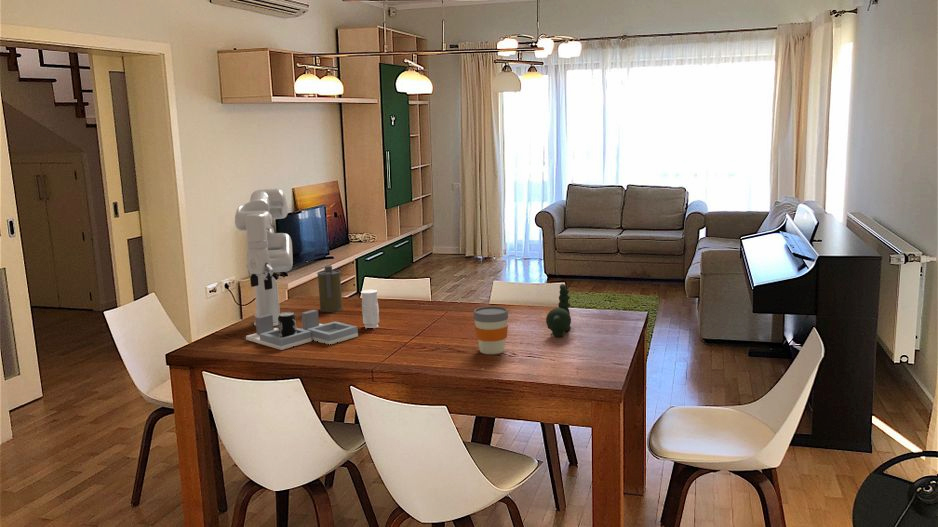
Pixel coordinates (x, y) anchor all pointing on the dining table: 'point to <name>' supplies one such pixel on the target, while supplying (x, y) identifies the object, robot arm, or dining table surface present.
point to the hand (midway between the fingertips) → (261, 287)
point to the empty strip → (327, 329)
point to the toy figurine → (560, 315)
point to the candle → (370, 308)
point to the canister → (330, 290)
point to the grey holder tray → (276, 334)
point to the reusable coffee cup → (491, 328)
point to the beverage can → (286, 324)
